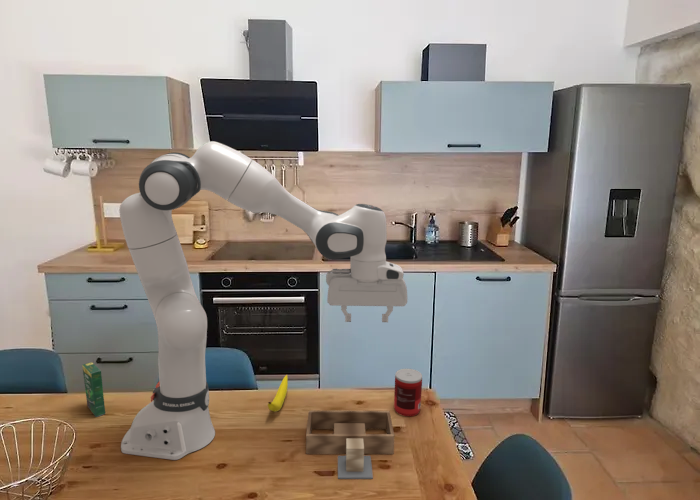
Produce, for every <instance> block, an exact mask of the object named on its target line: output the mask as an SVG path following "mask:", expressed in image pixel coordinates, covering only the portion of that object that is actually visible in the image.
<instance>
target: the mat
mask: <svg viewBox="0 0 700 500" xmlns="http://www.w3.org/2000/svg"><path fill="white" fill-rule="evenodd" d="M373 478H374V474H373V466H372V456H371V455H364V467H363V472H346V455H337V479H338V480H373Z"/></svg>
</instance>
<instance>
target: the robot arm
mask: <svg viewBox="0 0 700 500" xmlns="http://www.w3.org/2000/svg"><path fill="white" fill-rule="evenodd" d="M204 190H206V191H208V192H211V193H213V194H216V195H217V196H219V197H220V198H222V199H224V200H225V201H227V202H229V203H230V204H232V205H234V206H236V207H238V208H240V209H242V210H245V211H247V212H250V213H253V214H261V213H264V214H265V213H268V214H272V215H276V216H277V217H280V218H282V219H283V220H285V221H286V222H289V223H290V224H291V225H293V226H296V227H297V228H299V229H300V230H302V231H303V232H304V233H305V234H306V235H307V236H308V238H309V240H310V241H311V243H312V244H313V245H314V246H315V248H316V250H317V251H318V252H319V254H320V255H321V256H323V257H324V258H327V259H329V260H339V259H340V260H341V259H348V258H350V262H349V263H350V267H349V268H332V269H331V270H329V271H328V272H327V273H326V276H325V277H326V279H325V282H326V285H327V286H328V288H327V289H328V290H327V299H326V301H327V303H328V304H329V306H336V307H337V306H341V307H340V310H341V312H342V313H343V315H344V317H345V318H344V320H345V321H344V322H345V323H351V322H352V313H348V311H347V307H348V306H351V307H386V309H387V310H386V312H385V313H382V314H381V317H382V318H381V322H382V323H389V317H390V316H391V314H392V313H393V310H394V307H405V306H406V305H407V304H408V289H407V285H406V281H405V279H404V270H403V268H402V267H401V265H398V264H396V263H392V262H389V261H387V255H386V244H387V238H388V235H387V234H388V232H387V231H388V230H387V227H388V226H387V225H388V224H387V217H386V214H385V212H384V210H383V209H381V208H380V207H378V206H375V205H372V204H365V203H358V204H357V203H356V204H354V205H353V206H352V208H350V209H348V210H347V211H345V212H343V213H341V214H338V213H335V212H332V211H327V210H320V209H317V208H315V207H313V206H311V205H309V204H308V203H306V202H305V201H303V200H301V199H300V198H298V197H296V196H295V195H293V194H291V193H290V192H289V191H288V190H287V189H286V188H285V187H284V186H283V185H282V184H281V183H280V182H279V180H278V179H277V177H275V176H274V175H273V174H272V173H271V172H270V171H269V170H267V169H266V168H265V167H264V166H263V165H262V164H260V163H259V162H257V161H255V160H254V159H253V158H250V157H249V156H247V155H246V154H244V153H242V152H240V151H238V150H237V149H235V148H232V147H230V146H228V145H226V144H224V143H221V142H218V141H213V140H212V141H207V142H206V143H204V144H202V145H201V146H199V147H198V149H196V151H195V152H194V154H193V155H192V156H191V157H190V156H188V155H186V154H184V153H181V152H176V151H175V152H168V153H165V154H163V155H162V154H161V155H160V156H158V157H156V158H155V159H154V160H152V161H151V162H150V163H149V164H148V165H147V166H145V168H144V169H143V170H142V172H141V173H140V176H139V179H138V191H139V192H136V193H133V194H131V195H129V196H127V197H126V198H124V200H122V202H121V204H120V205H119V217H120V224H121V228H122V233H123V236H124V239H125V243H126V246H127V248H128V251H129V253H130V256H131V259H132V262H133V264H134V267H135V269H136V272H137V275H138V278H139V281H140V283H141V285H142V288H143V290H144V292H145V296H146V298H147V300H148V301H147V302H148V303H149V305H150V308H151V311H152V314H153V318H154V319H155V322H156V324H155V325H156V329H157V338H158V339H157V342H158V347H157V348H158V349H157V350H158V357H157V358H158V359H157V365H158V366H157V367H158V378H159V381H158V382H157V383H156V385H155V388H154V390H153V391H152V394H151V396H150V402H149V403H148V404H147V405H145V406H144V407H143V408H142V409H140V410H139V411H138V413H137V414H136V415H135V417H134V418H133V420H132V423H131V426H130V428H129V429H128V430H127V432H126V433H125V434H124V435H123V437H122V439H121V442H120V450H121V453H123V454H127V455H133V456H134V455H135V456H141V457H149V458H156V459H157V458H158V459H165V460H171V461H177V460H180V459H181V458H184V457H186V455H188V454H191V453H193V452H196V451H199V450H201V449H203V448H204V447H207V445H209V444H210V443H211V442H212V441H213V440H214V438H215V436H216V430H215V427H214V426H213V423H212V422H213V421H212V418H211V415H210V414H211V413H210V410H209V404H210V390H209V383H208V382H207V374H206V373H207V371H206V350H207V349H206V347H207V338H208V336H207V334H208V332H207V331H208V317H207V313H206V311H205V309H204V307H203V305H202V304H201V302H200V300H199V299H198V296H197V294H196V291H195V288H194V283H193V281H192V277H191V274H190V271H189V266H188V262H187V259H186V256H185V253H184V251H183V247H182V244H181V242H180V239H179V235H178V233H177V229H176V227H175V223H174V221H173V217H172V213H173V212H172V211H173V210H174V211H175V210H176V209H179V208H181V207H183V206H184V205H185V204H186V203H188V202H189V201H190V200H191V199H193V198H194V196H196V195H197V194H198V193H199V192H200V191H204Z"/></svg>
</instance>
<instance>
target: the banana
mask: <svg viewBox="0 0 700 500" xmlns="http://www.w3.org/2000/svg"><path fill="white" fill-rule="evenodd" d="M288 382H289V378H288V374H286V375H285V376H284V377H283V379H282V381H281V383H280V384H279V387H278V389H277V392H276V394H275V396H274V398H273V400H272V401H268V403H267V408H268V409H269V411H272V412H278V411H280V410H281V409H282V407H283V404H284V401H285V398H286V396H287V392H288V386H289V385H288Z"/></svg>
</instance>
